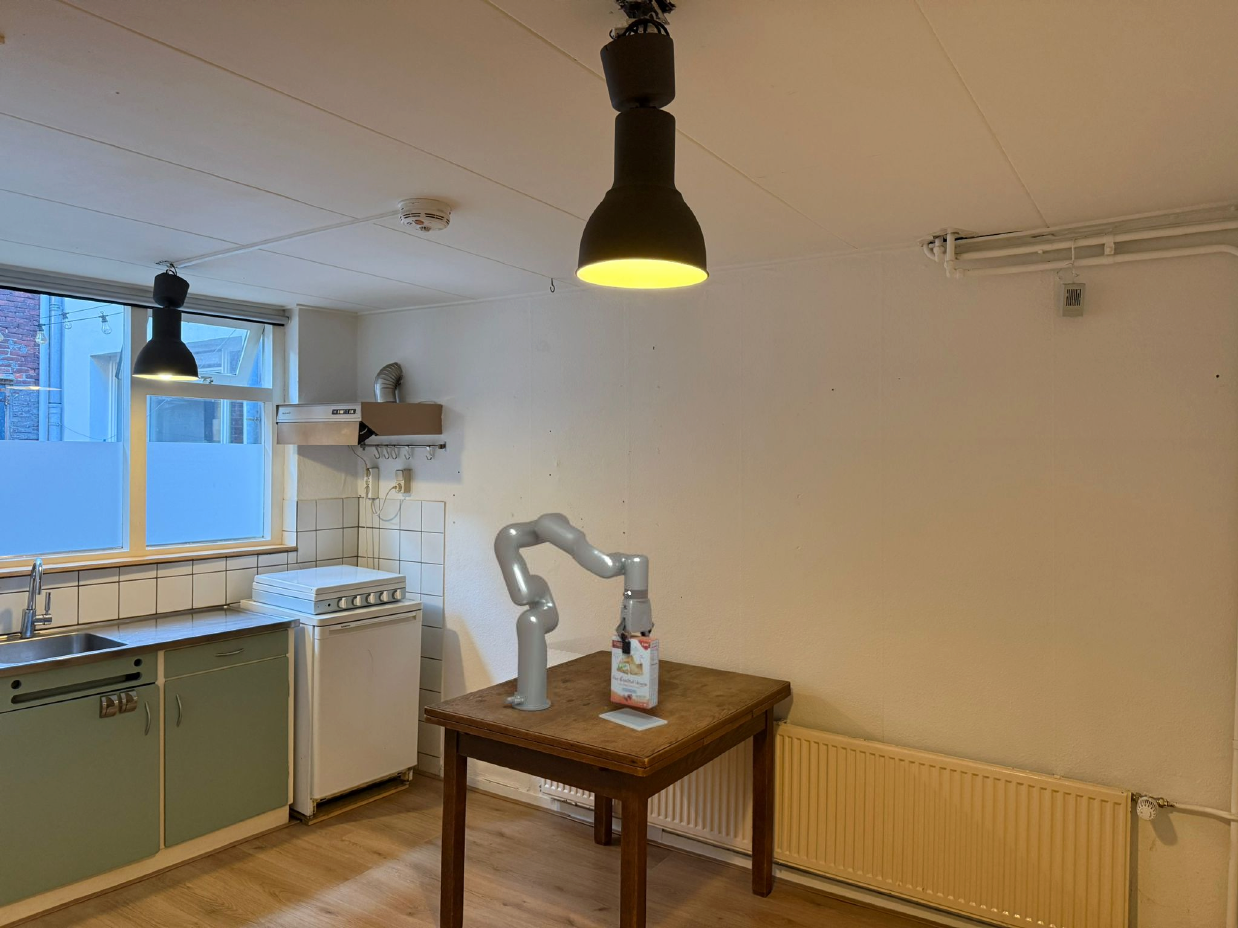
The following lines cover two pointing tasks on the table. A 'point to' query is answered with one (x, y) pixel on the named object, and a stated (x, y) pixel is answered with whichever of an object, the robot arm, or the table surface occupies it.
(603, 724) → the table surface
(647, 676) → the cracker box
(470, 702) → the table surface
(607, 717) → the plate
